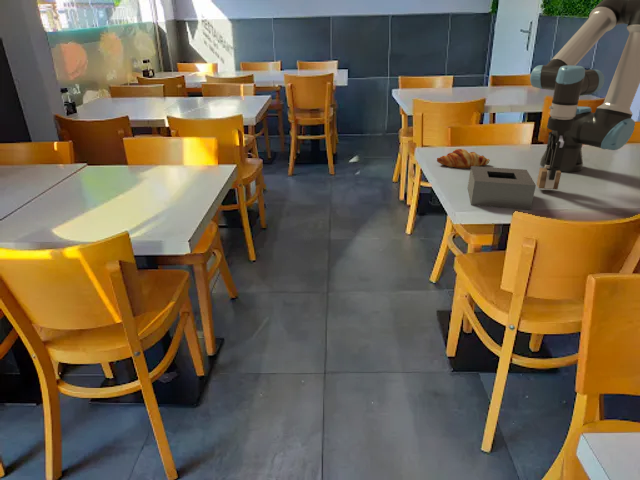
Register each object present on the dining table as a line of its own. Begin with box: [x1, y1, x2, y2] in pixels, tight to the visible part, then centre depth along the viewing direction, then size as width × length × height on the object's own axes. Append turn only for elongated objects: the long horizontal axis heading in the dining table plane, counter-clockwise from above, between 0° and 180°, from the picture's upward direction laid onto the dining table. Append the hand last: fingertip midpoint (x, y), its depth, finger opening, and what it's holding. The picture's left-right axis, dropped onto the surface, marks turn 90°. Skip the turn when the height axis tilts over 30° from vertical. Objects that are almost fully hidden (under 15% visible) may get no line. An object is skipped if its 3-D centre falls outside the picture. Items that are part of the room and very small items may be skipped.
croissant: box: [436, 148, 491, 169], centre depth 192 cm, size 21×10×8 cm, turn 94°
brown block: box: [536, 167, 562, 190], centre depth 165 cm, size 6×4×6 cm, turn 78°
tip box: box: [467, 166, 537, 211], centre depth 158 cm, size 18×16×8 cm
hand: (547, 185), depth 166 cm, fingers closed on brown block, 4 cm apart
